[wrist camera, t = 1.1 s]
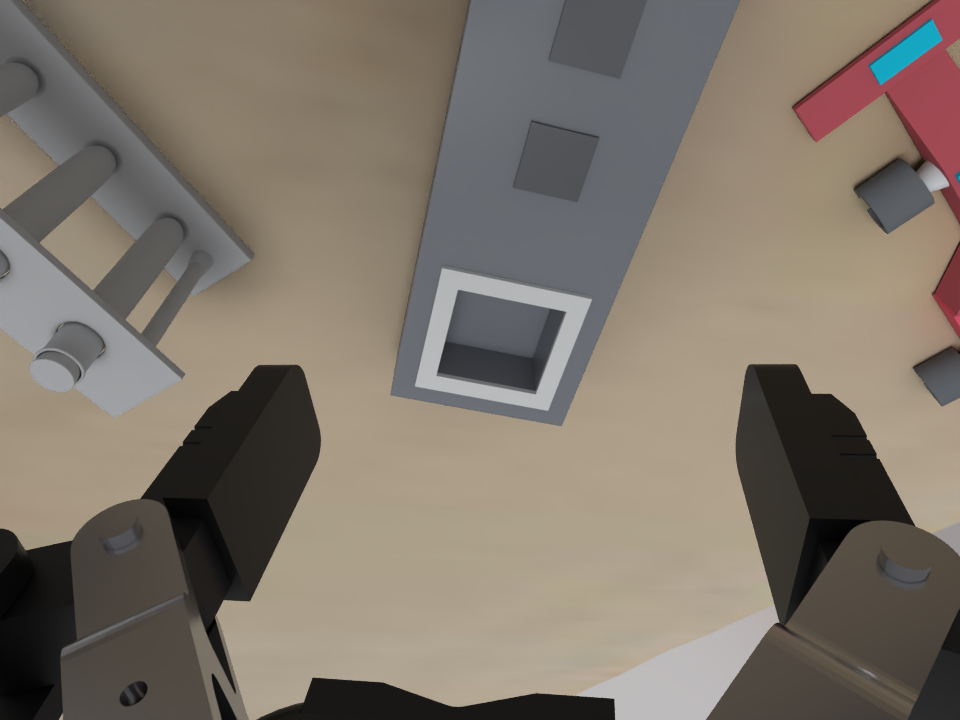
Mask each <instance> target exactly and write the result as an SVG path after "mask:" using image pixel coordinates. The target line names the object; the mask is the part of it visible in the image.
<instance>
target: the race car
mask: <svg viewBox="0 0 960 720" xmlns="http://www.w3.org/2000/svg"><path fill="white" fill-rule="evenodd" d="M959 38H960V0H934V1H932V2H931V3H930V4H928V5H927V6H926V7H924V8H923V9H922V10H920V11H919V12H918V13H917V14H915V15H914V16H913V17H911V18H910V19H909V20H907V21H906V22H905V23H903V24H902V25H901V26H899V27H898V28H897V29H895V30H894V31H893V32H891V33H890V34H889V35H888V36H886V37H885V38H884V39H882V40H881V41H880V42H878V43H877V44H876V45H874V46H873V47H872V48H870V49H869V50H868V51H866V52H865V53H864V54H863V55H861V56H860V57H859V58H857V59H856V60H855V61H853V62H852V63H851V64H849V65H848V66H847V67H845V68H844V69H843V70H841V71H840V72H839V73H837V74H836V75H835V76H834V77H832V78H831V79H830V80H828V81H827V82H826V83H824V84H823V85H822V86H820V87H819V88H818V89H816V90H815V91H814V92H812V93H811V94H810V95H809V96H807V97H806V98H805V99H803V100H802V101H801V102H799V103H798V104H797V105H795V106H794V107H793V109H794V111H795V112H796V114H797V115H798V117H799V118H800V120H801V121H802V123H803V124H804V126H805V127H806V129H807V130H808V132H809V133H810V135H811V136H812V138H813V140H815V141H816V142H817V141H819V140H820V139H821V138H823V137H824V136H825V135H827V134H828V133H830V132H831V131H832V130H834V129H835V128H837V127H838V126H839V125H841V124H842V123H843V122H845V121H846V120H848V119H849V118H850V117H852V116H853V115H854V114H856V113H857V112H859V111H860V110H861V109H863V108H864V107H865V106H867V105H868V104H870V103H871V102H872V101H874V100H875V99H877V98H878V97H879V96H881V95H882V94H883V93H885V92H886V94H887V96H888V98H889V100H890V101H891V103H892V105H893V107H894V108H895V110H896V112H897V114H898V115H899V117H900V119H901V121H902V122H903V124H904V126H905V128H906V129H907V131H908V133H909V135H910V137H911V138H912V140H913V142H914V144H915V145H916V147H917V149H918V151H919V152H920V154H921V156H922V158H923V159H924V161H925V162H924V164H923V165H922V166H921V167H920V168H919V169H918V170H917V171H916V172H915V171H914V170H913V169H912V168H911V167H910V166H909V165H908V164H907V163H906V162H905V161H904V160H902V159H898V160H896V161H895V162H894V163H892V164H891V165H889V166H888V167H886V168H885V169H884V170H882V171H881V172H879V173H878V174H876V175H875V176H874V177H872V178H871V179H869V180H868V181H866V182H865V183H864V184H862V185H861V186H859V187H858V188H856V189H855V190H854V191H855V193H856V194H857V196H858V197H859V198H860V197H861V198H862V199H863V200H864V201H865V202H866V203H867V204H868V205H869V207H870V208H869V209H868V210H867V211H868V213H869V214H870V216H871V217H872V218H873V220H874V221H875V222H876V223H877V224H878V226H879V227H880V228H881V229H882V230H883V231H884V232H885V233H887V234H888V233H890V232H892V231H893V230H895V229H896V228H898V227H899V226H901V225H902V224H904V223H905V222H907V221H908V220H910V219H911V218H913V217H914V216H916V215H917V214H919V213H920V212H922V211H923V210H925V209H926V208H928V207H929V206H931V205H932V204H934V199H933V196H932V195H931V193H930V192H934V191H937V190H940V189H941V191H942V193H943V195H944V196H945V198H946V200H947V202H948V204H949V205H950V207H951V209H952V211H953V212H954V214H955V216H956V218H957V219H958V221H959V223H960V70H959V69H958V67H957V66H956V64H955V63H954V62H953V60H952V59H951V57H950V56H949V55H948V53H947V52H946V50H945V49H946V48H947V47H948V46H950V45H951V44H952V43H954V42H955V41H957V40H958V39H959ZM933 297H934V298H935V300H936V301H937V303H938V305H939V306H940V308H941V309H942V311H943V312H944V314H945V316H946V317H947V319H948V320H949V322H950V323H951V325H952V327H953V328H954V330H955V331H956V333H957V334H958V336H959V338H960V245H959V247H958V249H957V251H956V253H955V255H954V257H953V259H952V261H951V263H950V265H949V267H948V269H947V271H946V273H945V274H944V276H943V278H942V280H941V282H940V284H939V286H938V288H937V290H936V292H935V294H933ZM913 369H914V370H915V372H916V373H917V374H918V375H919V376H920V378H921V379H922V380H923V381H924V384H925V386H926V387H927V389H928V390H929V391H930V393H931V394H932V395H933V396H934V398H935V399H936V400H937V401H938V403H939V404H940V405H941V406H944V405H946V404H948V403H950V402H952V401H954V400H956V399H958V398H960V354H959V353H958V352H957V351H956V350H955V349H954V348H953V347H951V348H949V349H947V350H946V351H944V352H942V353H940V354H938V355H936V356H934V357H933V358H931V359H929V360H927V361H925V362H923V363H922V364H920V365H918V366H916V367H914V368H913Z"/></svg>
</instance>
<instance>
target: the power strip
mask: <svg viewBox="0 0 960 720" xmlns="http://www.w3.org/2000/svg"><path fill="white" fill-rule="evenodd" d="M739 2H740V0H469V4H468V9H467V14H466V19H465V24H464V29H463V34H462V39H461V43H460V48H459V53H458V58H457V63H456V68H455V73H454V78H453V83H452V88H451V93H450V98H449V103H448V107H447V112H446V117H445V122H444V127H443V132H442V137H441V142H440V147H439V152H438V157H437V162H436V167H435V171H434V176H433V181H432V186H431V191H430V196H429V201H428V206H427V211H426V216H425V221H424V226H423V230H422V235H421V240H420V245H419V250H418V255H417V260H416V265H415V270H414V275H413V280H412V285H411V290H410V294H409V299H408V304H407V309H406V314H405V319H404V324H403V329H402V334H401V339H400V344H399V349H398V354H397V360H396V365H395V371H394V377H393V383H392V389H391V395H392V396H398V397H403V398H409V399H414V400H420V401H425V402H431V403H436V404H442V405H447V406H453V407H458V408H464V409H469V410H475V411H480V412H486V413H491V414H497V415H502V416H508V417H513V418H519V419H525V420H530V421H536V422H541V423H547V424H552V425H558V426H562V424H563V422H564V419H565V417H566V414H567V412H568V410H569V407H570V405H571V403H572V400H573V398H574V395H575V393H576V391H577V388H578V386H579V383H580V381H581V379H582V376H583V374H584V372H585V369H586V367H587V364H588V362H589V360H590V357H591V355H592V352H593V350H594V348H595V345H596V343H597V340H598V338H599V336H600V333H601V331H602V329H603V326H604V324H605V321H606V319H607V317H608V314H609V312H610V309H611V307H612V305H613V302H614V300H615V298H616V295H617V293H618V290H619V288H620V286H621V283H622V281H623V278H624V276H625V274H626V271H627V269H628V267H629V264H630V262H631V259H632V257H633V255H634V252H635V250H636V247H637V245H638V243H639V240H640V238H641V236H642V233H643V231H644V228H645V226H646V224H647V221H648V219H649V216H650V214H651V212H652V209H653V207H654V205H655V202H656V200H657V197H658V195H659V193H660V190H661V188H662V185H663V183H664V181H665V178H666V176H667V174H668V171H669V169H670V166H671V164H672V162H673V159H674V157H675V154H676V152H677V150H678V147H679V145H680V143H681V140H682V138H683V135H684V133H685V131H686V128H687V126H688V123H689V121H690V119H691V116H692V114H693V112H694V109H695V107H696V104H697V102H698V100H699V97H700V95H701V92H702V90H703V88H704V85H705V83H706V80H707V78H708V76H709V73H710V71H711V69H712V66H713V64H714V61H715V59H716V57H717V54H718V52H719V49H720V47H721V45H722V42H723V40H724V38H725V35H726V33H727V30H728V28H729V26H730V23H731V21H732V18H733V16H734V14H735V11H736V9H737V7H738V4H739Z"/></svg>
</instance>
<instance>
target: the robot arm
mask: <svg viewBox="0 0 960 720" xmlns="http://www.w3.org/2000/svg"><path fill="white" fill-rule="evenodd" d="M194 427H195V430H191V432H190V433H189V435H188V436H187V437H186V439H185V440H184V441H183V446H180V447H179V448H178V449H177V451H176V452H175V453H174V455H173V456H172V457H171V459H170V460H169V461H168V463H167V464H166V465H165V467H164V468H163V469H162V471H161V472H160V473H159V475H158V476H157V477H156V479H155V480H154V481H153V483H152V484H151V485H150V487H149V488H148V489H147V491H146V492H145V493H144V495H143V496H142V497H141V499H137V500H130V501H126V502H122V503H119V504H116V505H114V506H112V507H110V508H107V509H106V510H104V511H102V512H100V513H99V514H97V515H96V516H94V517H93V518H92V519H90V520H89V521H88V522H87V523H86V524H85V525H84V526H83V527H82V528H81V529H80V530H79V531H78V533H77V534H76V536H75V537H74V539H73V540H72V541H68V542H63V543H58V544H54V545H49V546H44V547H40V548H35V549H31V550H25V549H24V547H23V546H22V544H21V543H20V541H19V540H18V538H17V537H16V535H15V534H14V533H13V532H11V531H9V530H6V529H0V720H59V718H60V717H61V715H62V713H63V720H249V718H248V716H247V713H246V710H245V707H244V703H243V700H242V697H241V693H240V690H239V686H238V683H237V680H236V676H235V673H234V669H233V666H232V663H231V659H230V656H229V652H228V649H227V646H226V642H225V639H224V635H223V632H222V629H221V625H220V623H219V621H218V618H217V616H216V614H217V612H218V610H219V608H220V606H221V604H222V602H223V600H233V601H250V600H251V598H252V596H253V594H254V592H255V590H256V588H257V586H258V584H259V582H260V579H261V577H262V575H263V573H264V571H265V569H266V567H267V565H268V563H269V561H270V559H271V557H272V555H273V552H274V550H275V548H276V546H277V544H278V542H279V540H280V538H281V536H282V534H283V532H284V530H285V527H286V525H287V523H288V521H289V519H290V517H291V515H292V513H293V511H294V509H295V507H296V505H297V503H298V500H299V498H300V496H301V494H302V492H303V490H304V488H305V486H306V484H307V482H308V480H309V478H310V475H311V473H312V471H313V469H314V467H315V465H316V463H317V461H318V457H319V453H320V446H321V436H320V429H319V425H318V421H317V418H316V414H315V410H314V407H313V403H312V399H311V396H310V392H309V388H308V385H307V381H306V377H305V374H304V372H303V370H302V368H301V367H300V366H298V365H258V366H257V367H255V368H254V370H253V371H252V372H251V374H250V375H249V377H248V378H247V379H246V381H245V382H244V384H243V385H242V386H241V388H240V389H239V391H231V392H229V393H228V394H227V395H225V396H224V397H222V398H221V399H220V400H218V401H217V402H216V403H214V404H213V405H212V406H210V407H209V408H208V409H207V410H206V412H205V413H204V414H203V416H202V417H201V418H200V420H199V421H198V422H197V424H196V425H195V426H194ZM876 455H877V454H876V452H875V450H874V448H873V446H872V444H871V443H870V441H869V440H867V435H866V433H865V431H864V430H863V428H862V426H861V424H860V422H859V420H858V418H857V416H856V415H855V413H854V412H853V411H851V410H850V409H849V408H848V407H846V406H845V405H844V404H843V403H841V402H840V401H839V400H838V399H837V398H835V397H834V396H833V395H832V394H811V392H810V390H809V388H808V385H807V383H806V381H805V379H804V377H803V375H802V373H801V371H800V369H799V367H798V366H797V365H796V364H751V365H749V366H748V367H747V370H746V374H745V380H744V387H743V393H742V400H741V407H740V414H739V420H738V427H737V434H736V461H737V468H738V472H739V476H740V480H741V483H742V487H743V491H744V494H745V498H746V502H747V505H748V509H749V513H750V516H751V520H752V524H753V527H754V531H755V535H756V538H757V542H758V546H759V549H760V553H761V556H762V560H763V564H764V567H765V571H766V575H767V578H768V582H769V586H770V589H771V593H772V597H773V600H774V604H775V607H776V611H777V615H778V619H779V622H780V623H776V624H774V625H773V626H772V627H771V628H770V629H769V630H768V632H767V633H766V634H765V636H764V637H763V638H762V640H761V641H760V643H759V644H758V646H757V647H756V649H755V650H754V651H753V653H752V654H751V656H750V657H749V659H748V660H747V662H746V663H745V664H744V666H743V667H742V669H741V670H740V672H739V673H738V675H737V676H736V677H735V679H734V680H733V682H732V683H731V684H730V686H729V688H728V689H727V691H726V692H725V693H724V695H723V696H722V697H721V699H720V700H719V702H718V703H717V705H716V706H715V708H714V709H713V710H712V712H711V713H710V715H709V716H708V718H707V719H706V720H960V557H959V555H958V554H957V553H956V552H955V551H954V550H953V549H952V548H951V547H950V546H949V545H948V544H946V543H945V542H943V541H942V540H941V539H939V538H938V537H936V536H934V535H933V534H931V533H929V532H927V531H925V530H923V529H920V528H917V527H915V525H914V523H913V521H912V519H911V517H910V515H909V514H908V512H907V510H906V508H905V506H904V504H903V502H902V501H901V499H900V497H899V495H898V493H897V491H896V489H895V487H894V486H893V484H892V482H891V480H890V478H889V476H888V474H887V472H886V471H885V469H884V467H883V465H882V463H881V461H880V459H877V457H876ZM614 706H615V705H614V699H609V698H595V697H580V696H567V695H552V694H538V693H536V694H530V695H525V696H519V697H514V698H508V699H503V700H497V701H492V702H486V703H481V704H475V705H470V706H464V707H452V706H448V705H445V704H442V703H439V702H436V701H433V700H431V699H428V698H425V697H422V696H419V695H417V694H414V693H411V692H408V691H405V690H402V689H400V688H397V687H394V686H391V685H388V684H385V683H381V682H367V681H352V680H338V679H324V678H312V681H311V684H310V687H309V690H308V692H307V695H306V698H305V701H304V703H298V704H295V705H291V706H288V707H285V708H282V709H279V710H276V711H274V712H272V713H269V714H267V715H265V716H263V717H260V718H259V719H257V720H615V707H614Z"/></svg>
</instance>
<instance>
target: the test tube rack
mask: <svg viewBox="0 0 960 720" xmlns="http://www.w3.org/2000/svg"><path fill="white" fill-rule="evenodd" d="M5 114H7V115H8V116H9V117H10V118H11V119H12V120H13V121H14V122H15V123H16V124H17V125H18V126H20V127H21V128H22V129H23V130H24V131H25V132H26V133H27V134H28V135H29V136H30V137H31V138H32V139H33V140H34V141H35V142H36V143H37V144H38V145H39V146H40V147H41V148H42V149H43V150H44V151H45V152H46V153H47V154H48V155H49V156H50V157H51V158H52V159H53V160H54V161H55V162H56V163H57V164H58V165H59V166H58V167H57V168H56V169H54V170H53V171H52V172H51V173H49V174H48V175H47V176H45V177H44V178H43V179H41V180H40V181H39V182H38V183H36V184H35V185H34V186H32V187H31V188H30V189H28V190H27V191H26V192H24V193H23V194H22V195H21V196H19V197H18V198H17V199H15V200H14V201H13V202H11V203H10V204H9V205H8V206H6V207H5V208H4V209H1V208H0V328H1V329H2V330H3V331H4V332H6V333H7V334H8V335H10V336H11V337H12V338H13V339H15V340H16V341H17V342H18V343H20V344H21V345H22V346H23V347H25V348H26V349H27V350H28V351H30V352H31V353H32V354H33V355H34V357H33V362H32V363H31V364H30V368H29V369H30V373H31V376H32V377H33V378H34V380H35V381H36V382H37V383H38V384H40V385H41V386H43V387H44V388H46V389H49V390H51V391H55V392H67V391H69V390H71V389H72V388H73V387H75V388H76V389H78V390H79V391H80V392H81V393H83V394H84V395H85V396H86V397H88V398H89V399H90V400H91V401H93V402H94V403H95V404H96V405H98V406H99V407H100V408H102V409H103V410H104V411H105V412H107V413H108V414H109V415H110V416H112V417H113V418H115V417H117V416H119V415H120V414H122V413H124V412H126V411H127V410H129V409H131V408H133V407H134V406H136V405H138V404H140V403H141V402H143V401H145V400H147V399H148V398H150V397H152V396H154V395H156V394H157V393H159V392H161V391H163V390H164V389H166V388H168V387H170V386H171V385H173V384H175V383H176V382H178V381H180V380H182V379H183V377H184V375H185V373H184V372H183V371H182V370H180V369H179V368H178V367H177V366H176V365H175V364H174V363H173V362H172V361H170V360H169V359H168V358H167V357H166V356H165V355H164V354H163V353H162V352H160V351H159V350H158V349H157V348H156V345H157V344H158V342H159V341H160V339H161V338H162V336H163V335H164V333H165V332H166V330H167V328H168V327H169V325H170V324H171V322H172V321H173V319H174V318H175V316H176V315H177V313H178V312H179V310H180V308H181V307H182V305H183V304H184V302H185V301H186V299H187V298H188V296H189V295H190V294H191V295H192V296H195V295H197V294H198V293H200V292H202V291H203V290H205V289H206V288H208V287H210V286H211V285H213V284H214V283H216V282H218V281H219V280H221V279H222V278H224V277H226V276H227V275H229V274H230V273H232V272H234V271H235V270H237V269H239V268H240V267H242V266H243V265H245V264H247V263H248V262H250V261H251V260H252V258H253V256H254V253H253V252H252V251H251V250H250V249H249V248H248V247H247V246H246V245H245V244H244V242H243V241H242V240H241V239H240V238H239V237H238V236H237V235H236V234H235V233H234V232H233V230H232V229H231V228H230V227H229V226H228V225H227V224H226V223H225V222H224V221H223V220H222V219H221V217H220V216H219V215H218V214H217V213H216V212H215V211H214V210H213V209H212V208H211V207H210V205H209V204H208V203H207V202H206V201H205V200H204V199H203V198H202V197H201V196H200V195H199V193H198V192H197V191H196V190H195V189H194V188H193V187H192V186H191V185H190V184H189V183H188V181H187V180H186V179H185V178H184V177H183V176H182V175H181V174H180V173H179V172H178V171H177V169H176V168H175V167H174V166H173V165H172V164H171V163H170V162H169V161H168V160H167V159H166V157H165V156H164V155H163V154H162V153H161V152H160V151H159V150H158V149H157V148H156V147H155V145H154V144H153V143H152V142H151V141H150V140H149V139H148V138H147V137H146V136H145V135H144V133H143V132H142V131H141V130H140V129H139V128H138V127H137V126H136V125H135V124H134V123H133V121H132V120H131V119H130V118H129V117H128V116H127V115H126V114H125V113H124V112H123V111H122V109H121V108H120V107H119V106H118V105H117V104H116V103H115V102H114V101H113V100H112V99H111V97H110V96H109V95H108V94H107V93H106V92H105V91H104V90H103V89H102V88H101V87H100V85H99V84H98V83H97V82H96V81H95V80H94V79H93V78H92V77H91V76H90V75H89V73H88V72H87V71H86V70H85V69H84V68H83V67H82V66H81V65H80V64H79V63H78V61H77V60H76V59H75V58H74V57H73V56H72V55H71V54H70V53H69V52H68V51H67V49H66V48H65V47H64V46H63V45H62V44H61V43H60V42H59V41H58V40H57V39H56V37H55V36H54V35H53V34H52V33H51V32H50V31H49V30H48V29H47V28H46V27H45V25H44V24H43V23H42V22H41V21H40V20H39V19H38V18H37V17H36V16H35V15H34V13H33V12H32V11H31V10H30V9H29V8H28V7H27V6H26V5H25V4H24V3H23V1H22V0H0V117H2V116H3V115H5ZM90 196H91V197H92V198H93V199H94V200H95V201H96V202H97V203H98V204H99V205H100V206H101V207H102V208H103V209H104V210H105V211H106V212H107V213H108V214H109V215H110V216H111V217H112V218H113V219H114V220H115V221H116V222H117V223H118V224H119V225H120V226H122V227H123V228H124V229H125V230H126V231H127V232H128V233H129V234H130V235H131V236H132V237H133V238H134V239H135V240H136V242H135V243H134V244H133V245H132V246H131V247H130V248H129V250H128V251H127V252H126V253H125V254H124V255H123V257H122V258H121V259H120V260H119V261H118V262H117V263H116V265H115V266H114V267H113V268H112V269H111V270H110V271H109V273H108V274H107V275H106V276H105V277H104V278H103V280H102V281H101V282H100V283H99V284H98V285H97V286H96V288H95V289H94V290H93V291H92V290H91V289H90V288H89V287H88V286H87V285H86V284H84V283H83V282H82V281H81V280H80V279H79V278H78V277H77V276H76V275H74V274H73V273H72V272H71V271H70V270H69V269H68V268H67V267H65V266H64V265H63V264H62V263H61V262H60V261H59V260H58V259H57V258H55V257H54V256H53V255H52V254H51V253H50V252H49V251H48V250H46V249H45V248H44V247H43V246H42V245H41V244H40V243H39V242H40V241H42V240H43V239H44V238H45V237H46V236H47V235H48V234H49V233H50V232H51V231H53V230H54V229H55V228H56V227H57V226H58V225H59V224H60V223H61V222H63V221H64V220H65V219H66V218H67V217H68V216H69V215H70V214H71V213H72V212H74V211H75V210H76V209H77V208H78V207H79V206H80V205H81V204H82V203H84V202H85V201H86V200H87V199H88V198H89V197H90ZM9 269H10V271H9V272H8V273H7V274H6V275H5V276H3V275H4V274H5V273H6V272H7V271H8V270H9ZM163 269H165V270H166V271H167V272H168V273H169V274H170V275H171V276H172V277H173V278H174V279H175V280H176V281H177V283H176V285H175V286H174V287H173V289H172V290H171V292H170V293H169V295H168V296H167V297H166V299H165V300H164V302H163V303H162V305H161V306H160V308H159V309H158V310H157V312H156V313H155V315H154V316H153V318H152V319H151V320H150V322H149V323H148V325H147V326H146V328H145V329H144V331H143V332H142V333H141V334H140V333H139V332H138V331H137V330H136V329H135V328H134V327H133V326H131V325H130V324H129V323H128V322H127V321H126V320H125V319H126V318H127V317H128V315H129V314H130V313H131V311H132V310H133V309H134V307H135V306H136V305H137V303H138V302H139V301H140V299H141V298H142V297H143V295H144V294H145V293H146V291H147V290H148V289H149V287H150V286H151V285H152V283H153V282H154V281H155V279H156V278H157V277H158V275H159V274H160V273H161V271H162V270H163ZM2 276H3V277H2ZM62 324H63V326H62V327H61V328H60V329H59V330H58V328H59V327H60V326H61V325H62ZM104 347H105V350H104V351H103V352H102V353H101V351H102V350H103V349H104ZM100 353H101V354H100ZM99 354H100V355H99Z"/></svg>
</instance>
